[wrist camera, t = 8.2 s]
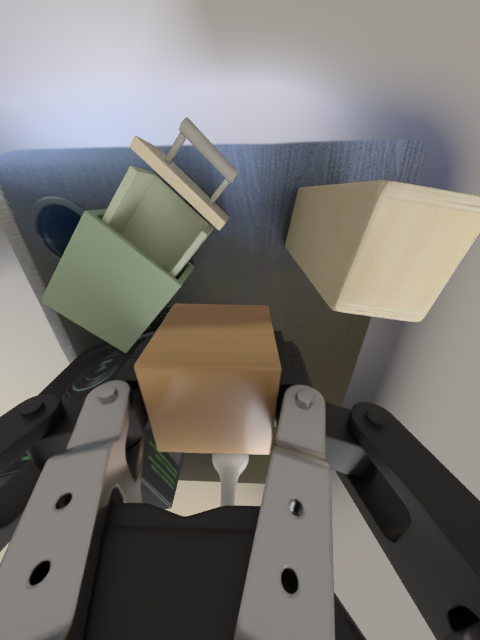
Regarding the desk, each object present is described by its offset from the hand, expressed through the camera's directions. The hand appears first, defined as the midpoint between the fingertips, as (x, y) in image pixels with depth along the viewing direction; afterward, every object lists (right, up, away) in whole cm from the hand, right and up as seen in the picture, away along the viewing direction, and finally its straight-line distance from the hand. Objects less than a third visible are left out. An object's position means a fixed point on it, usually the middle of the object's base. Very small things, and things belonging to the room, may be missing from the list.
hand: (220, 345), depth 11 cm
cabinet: (-16, +9, +25) cm, 31 cm away
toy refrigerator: (+12, +15, +21) cm, 28 cm away
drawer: (-8, +16, +20) cm, 26 cm away
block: (0, 0, 0) cm, 0 cm away
